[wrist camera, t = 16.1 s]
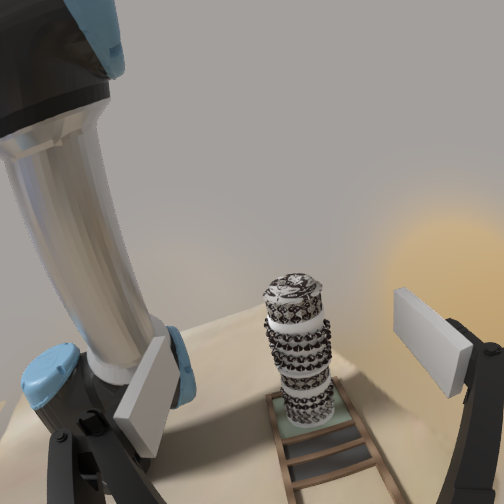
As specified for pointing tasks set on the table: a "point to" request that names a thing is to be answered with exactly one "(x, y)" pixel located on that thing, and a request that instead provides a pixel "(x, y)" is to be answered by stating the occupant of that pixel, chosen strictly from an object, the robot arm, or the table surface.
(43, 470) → the table surface
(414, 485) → the table surface
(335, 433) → the brown flat rectangular frame
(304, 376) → the decorative candle
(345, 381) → the table surface
